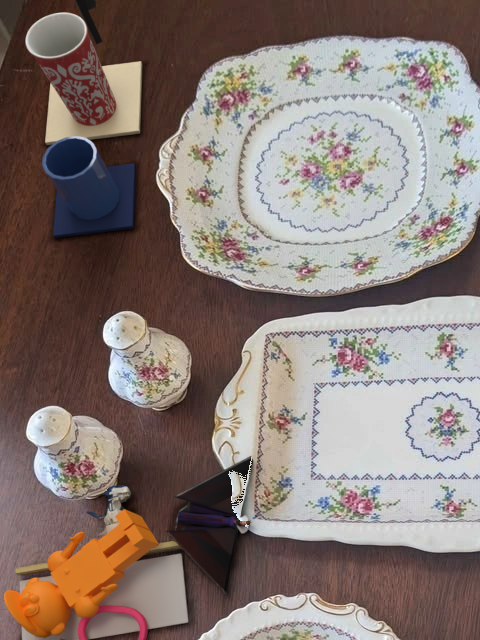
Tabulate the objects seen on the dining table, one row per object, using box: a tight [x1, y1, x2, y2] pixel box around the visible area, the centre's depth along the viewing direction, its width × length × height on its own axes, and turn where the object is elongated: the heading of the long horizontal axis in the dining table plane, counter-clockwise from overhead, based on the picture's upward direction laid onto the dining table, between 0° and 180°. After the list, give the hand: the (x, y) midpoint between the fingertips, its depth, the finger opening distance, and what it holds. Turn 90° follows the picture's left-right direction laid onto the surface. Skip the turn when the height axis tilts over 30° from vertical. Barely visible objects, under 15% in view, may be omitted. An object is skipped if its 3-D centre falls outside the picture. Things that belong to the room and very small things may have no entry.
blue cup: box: [41, 136, 120, 220], centre depth 116 cm, size 8×8×9 cm
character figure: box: [165, 455, 254, 596], centre depth 98 cm, size 18×3×10 cm
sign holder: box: [14, 540, 189, 640], centre depth 96 cm, size 21×2×10 cm
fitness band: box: [78, 605, 149, 640], centre depth 94 cm, size 8×6×2 cm
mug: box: [24, 11, 116, 126], centre depth 121 cm, size 13×9×14 cm
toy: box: [3, 508, 160, 638], centre depth 93 cm, size 9×18×8 cm, turn 126°
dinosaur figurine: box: [86, 484, 132, 537], centre depth 99 cm, size 5×4×10 cm
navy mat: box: [52, 162, 137, 239], centre depth 120 cm, size 12×12×1 cm
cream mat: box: [44, 60, 143, 146], centre depth 127 cm, size 15×15×1 cm
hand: (39, 60), depth 88 cm, fingers open, 13 cm apart
